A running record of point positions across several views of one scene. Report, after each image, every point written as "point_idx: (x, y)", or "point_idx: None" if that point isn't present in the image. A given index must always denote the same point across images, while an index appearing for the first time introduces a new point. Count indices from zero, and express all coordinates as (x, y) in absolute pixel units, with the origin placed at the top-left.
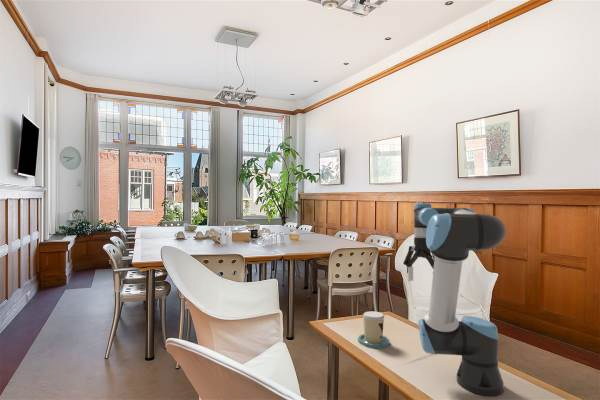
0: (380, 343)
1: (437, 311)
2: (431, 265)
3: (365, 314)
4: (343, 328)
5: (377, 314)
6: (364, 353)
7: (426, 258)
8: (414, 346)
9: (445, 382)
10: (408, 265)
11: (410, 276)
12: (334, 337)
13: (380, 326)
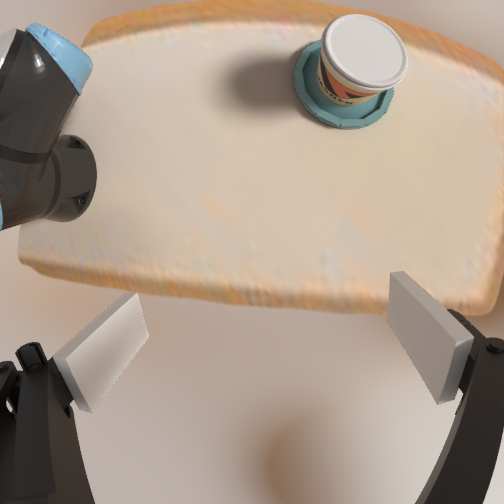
0: (315, 83)
1: None
2: (39, 409)
3: (379, 26)
4: (464, 95)
5: (362, 60)
6: (284, 17)
7: (33, 495)
8: (259, 172)
9: (83, 104)
10: (481, 353)
11: (405, 306)
12: (414, 28)
13: (320, 60)
